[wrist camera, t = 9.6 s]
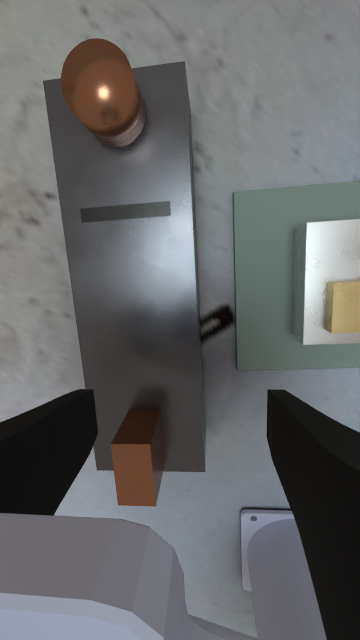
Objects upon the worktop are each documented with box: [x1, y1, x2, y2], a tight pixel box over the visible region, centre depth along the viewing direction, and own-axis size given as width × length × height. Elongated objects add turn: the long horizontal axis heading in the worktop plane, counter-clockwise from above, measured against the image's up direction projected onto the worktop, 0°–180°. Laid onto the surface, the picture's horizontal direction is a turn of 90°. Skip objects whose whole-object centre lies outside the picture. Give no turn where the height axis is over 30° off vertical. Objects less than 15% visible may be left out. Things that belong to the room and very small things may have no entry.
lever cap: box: [291, 219, 360, 345], centre depth 17 cm, size 5×7×3 cm, turn 4°
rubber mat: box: [233, 181, 360, 370], centre depth 19 cm, size 12×12×1 cm
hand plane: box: [43, 38, 206, 506], centre depth 16 cm, size 7×22×8 cm, turn 4°
